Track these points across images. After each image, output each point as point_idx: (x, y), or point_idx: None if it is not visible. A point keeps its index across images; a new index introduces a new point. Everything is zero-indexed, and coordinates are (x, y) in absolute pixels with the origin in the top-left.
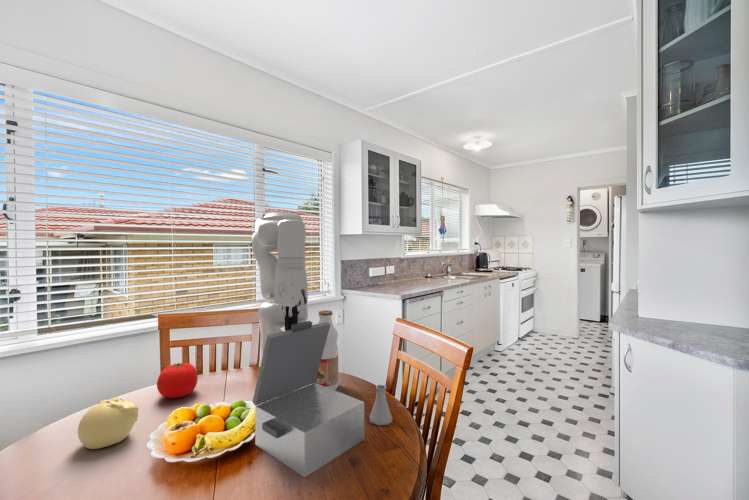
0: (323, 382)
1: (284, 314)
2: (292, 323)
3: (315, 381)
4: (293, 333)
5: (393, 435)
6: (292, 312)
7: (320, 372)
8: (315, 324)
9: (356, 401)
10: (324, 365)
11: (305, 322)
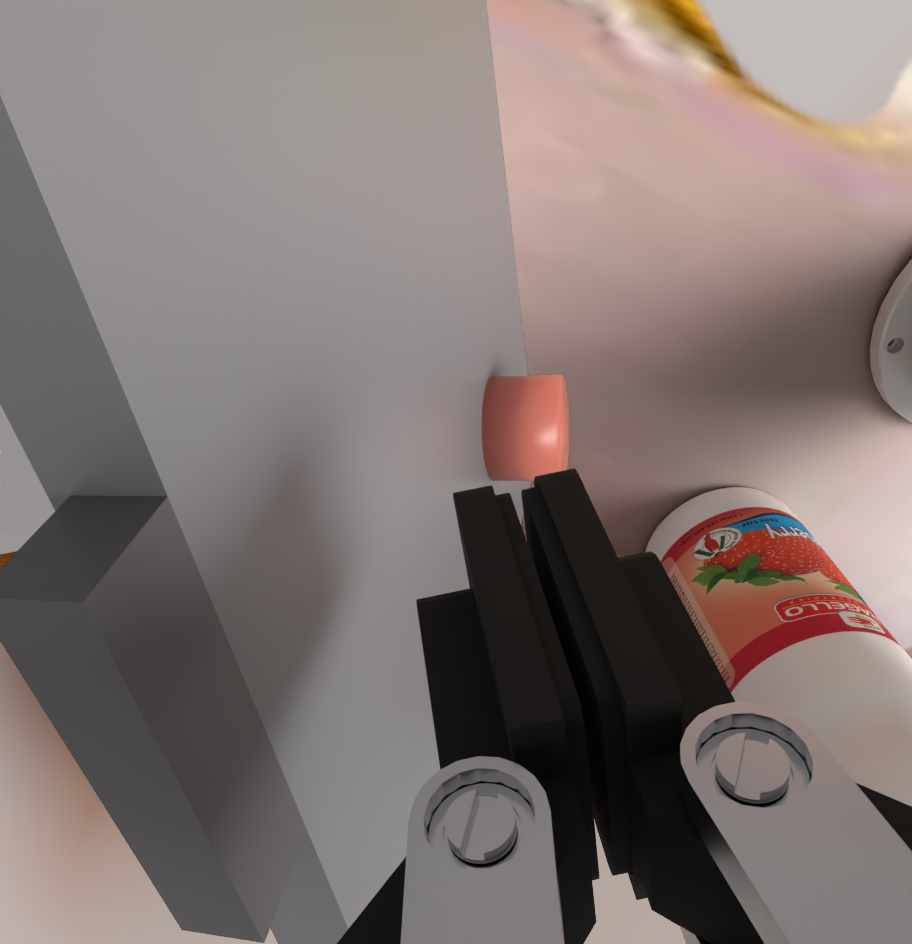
0: (690, 552)
1: (781, 741)
2: (426, 668)
3: (745, 524)
4: (58, 474)
5: (7, 554)
6: (412, 941)
7: (734, 583)
8: (342, 918)
9: (10, 526)
10: (731, 636)
11: (189, 859)
